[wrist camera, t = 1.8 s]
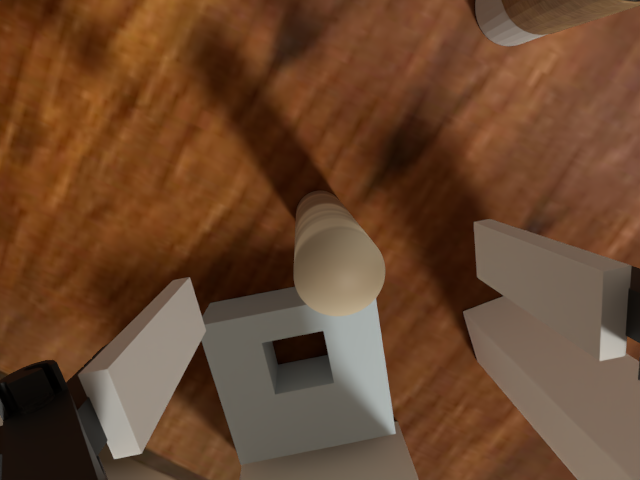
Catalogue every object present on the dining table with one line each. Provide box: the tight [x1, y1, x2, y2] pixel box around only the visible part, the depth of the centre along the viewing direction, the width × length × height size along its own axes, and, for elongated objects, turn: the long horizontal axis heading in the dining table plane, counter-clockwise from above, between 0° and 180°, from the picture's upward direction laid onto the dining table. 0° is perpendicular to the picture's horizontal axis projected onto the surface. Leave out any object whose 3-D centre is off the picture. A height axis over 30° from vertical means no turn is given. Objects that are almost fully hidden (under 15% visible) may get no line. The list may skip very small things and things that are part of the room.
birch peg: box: [294, 191, 385, 316], centre depth 21 cm, size 4×4×14 cm
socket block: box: [201, 287, 396, 465], centre depth 29 cm, size 14×14×4 cm
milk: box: [463, 296, 640, 480], centre depth 21 cm, size 6×6×22 cm
